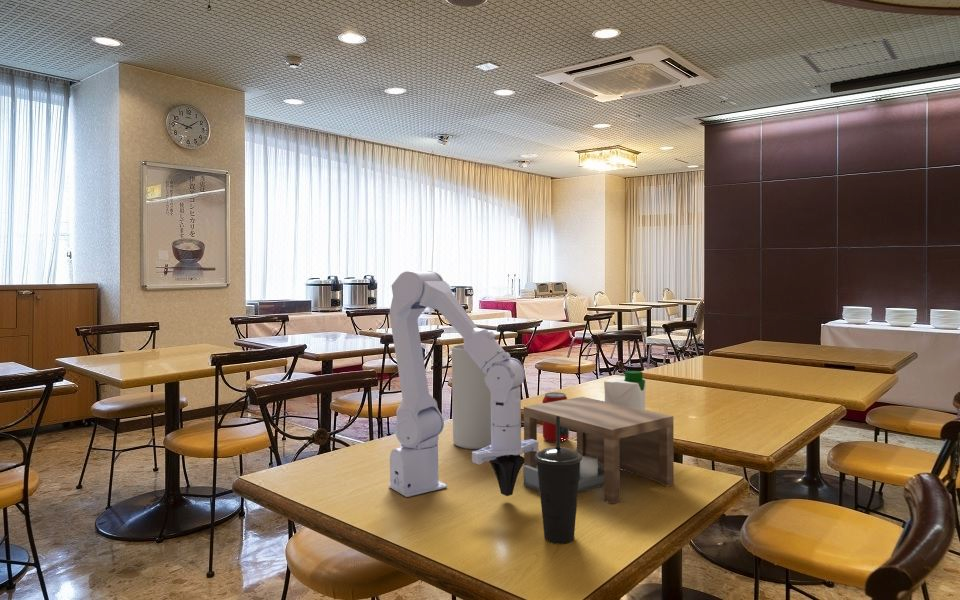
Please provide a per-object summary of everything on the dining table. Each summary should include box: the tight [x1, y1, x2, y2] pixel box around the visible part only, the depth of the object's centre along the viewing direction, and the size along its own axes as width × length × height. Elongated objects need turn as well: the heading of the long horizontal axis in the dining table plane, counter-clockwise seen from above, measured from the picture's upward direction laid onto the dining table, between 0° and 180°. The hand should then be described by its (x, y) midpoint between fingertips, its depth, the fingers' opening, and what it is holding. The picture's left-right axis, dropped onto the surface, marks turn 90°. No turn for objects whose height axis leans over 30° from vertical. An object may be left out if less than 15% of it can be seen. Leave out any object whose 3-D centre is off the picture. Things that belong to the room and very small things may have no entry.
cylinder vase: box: [451, 343, 491, 450], centre depth 158 cm, size 12×12×25 cm
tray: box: [522, 450, 604, 494], centre depth 126 cm, size 16×10×5 cm, turn 125°
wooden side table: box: [523, 396, 675, 505], centre depth 131 cm, size 18×26×14 cm
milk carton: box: [603, 370, 647, 410], centre depth 146 cm, size 9×9×20 cm
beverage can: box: [542, 392, 570, 443], centre depth 160 cm, size 7×7×12 cm
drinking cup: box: [535, 416, 582, 545], centre depth 100 cm, size 8×8×20 cm
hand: (506, 494), depth 117 cm, fingers closed
